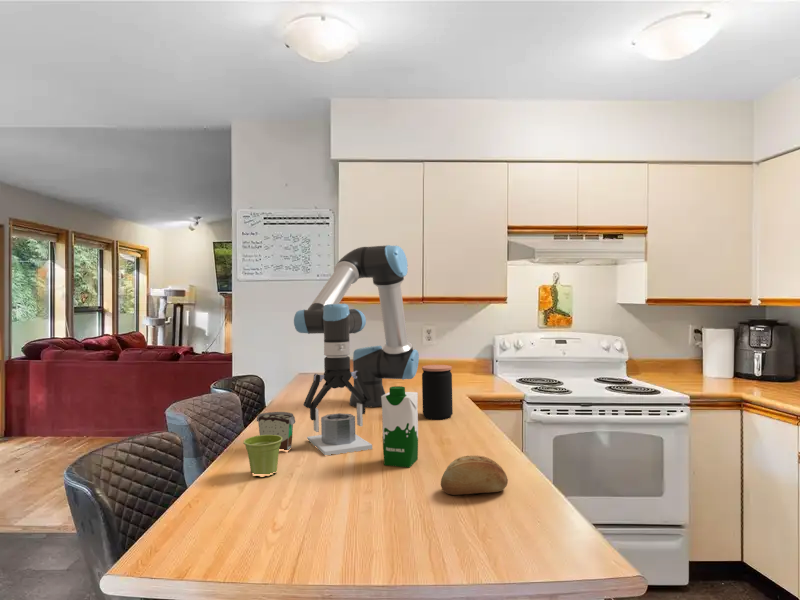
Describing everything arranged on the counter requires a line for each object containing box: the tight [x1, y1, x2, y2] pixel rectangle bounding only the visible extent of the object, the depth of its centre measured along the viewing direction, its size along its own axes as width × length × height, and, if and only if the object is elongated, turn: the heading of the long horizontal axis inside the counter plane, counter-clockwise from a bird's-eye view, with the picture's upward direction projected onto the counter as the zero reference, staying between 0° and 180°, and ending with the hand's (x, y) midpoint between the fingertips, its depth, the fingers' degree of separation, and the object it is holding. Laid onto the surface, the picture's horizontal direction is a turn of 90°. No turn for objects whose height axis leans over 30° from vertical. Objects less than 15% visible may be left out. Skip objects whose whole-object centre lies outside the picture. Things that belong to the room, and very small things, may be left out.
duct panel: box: [306, 419, 373, 456], centre depth 158 cm, size 18×14×7 cm
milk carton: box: [381, 385, 419, 468], centre depth 140 cm, size 9×9×20 cm
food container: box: [256, 411, 296, 450], centre depth 156 cm, size 12×6×10 cm, turn 65°
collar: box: [320, 412, 356, 445], centre depth 158 cm, size 9×9×7 cm
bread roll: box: [440, 454, 509, 496], centre depth 118 cm, size 10×15×8 cm, turn 96°
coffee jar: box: [421, 364, 454, 421], centre depth 192 cm, size 11×11×18 cm
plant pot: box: [243, 434, 282, 474], centre depth 133 cm, size 9×9×9 cm
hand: (338, 428), depth 158 cm, fingers open, 13 cm apart
